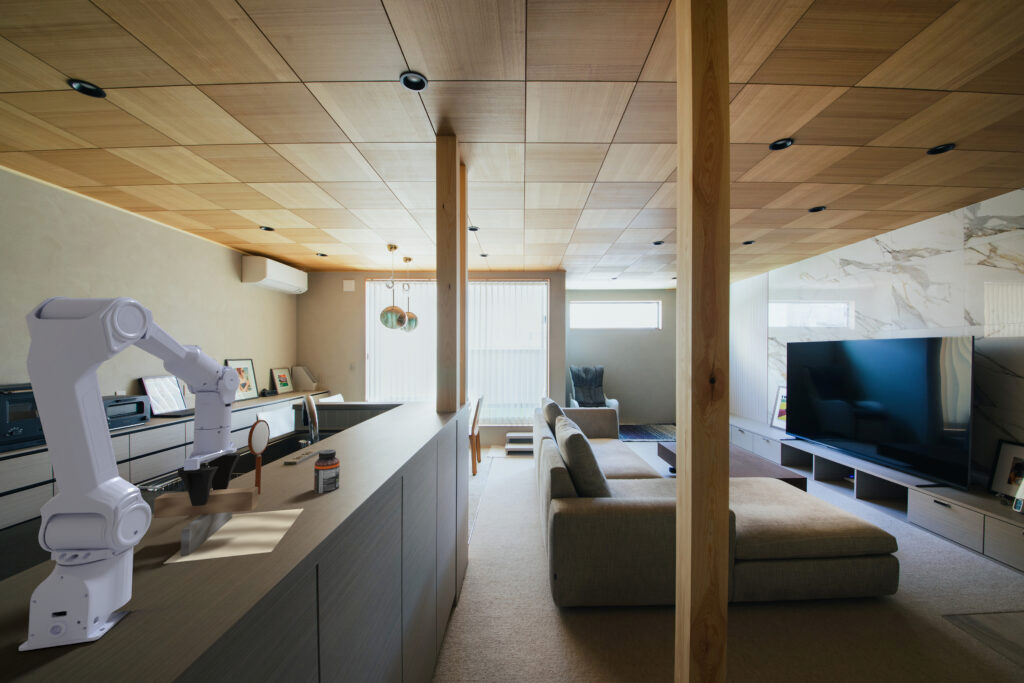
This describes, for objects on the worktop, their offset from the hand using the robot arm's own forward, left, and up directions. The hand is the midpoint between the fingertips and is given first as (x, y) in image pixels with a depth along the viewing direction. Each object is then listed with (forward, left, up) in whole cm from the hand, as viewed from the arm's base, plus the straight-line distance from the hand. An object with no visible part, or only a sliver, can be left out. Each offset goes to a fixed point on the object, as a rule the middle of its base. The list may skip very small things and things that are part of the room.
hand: (210, 497), depth 74 cm
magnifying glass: (+23, 0, -9) cm, 25 cm away
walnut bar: (0, 0, -3) cm, 3 cm away
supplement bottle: (+23, -16, -9) cm, 29 cm away
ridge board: (0, -6, -9) cm, 10 cm away
